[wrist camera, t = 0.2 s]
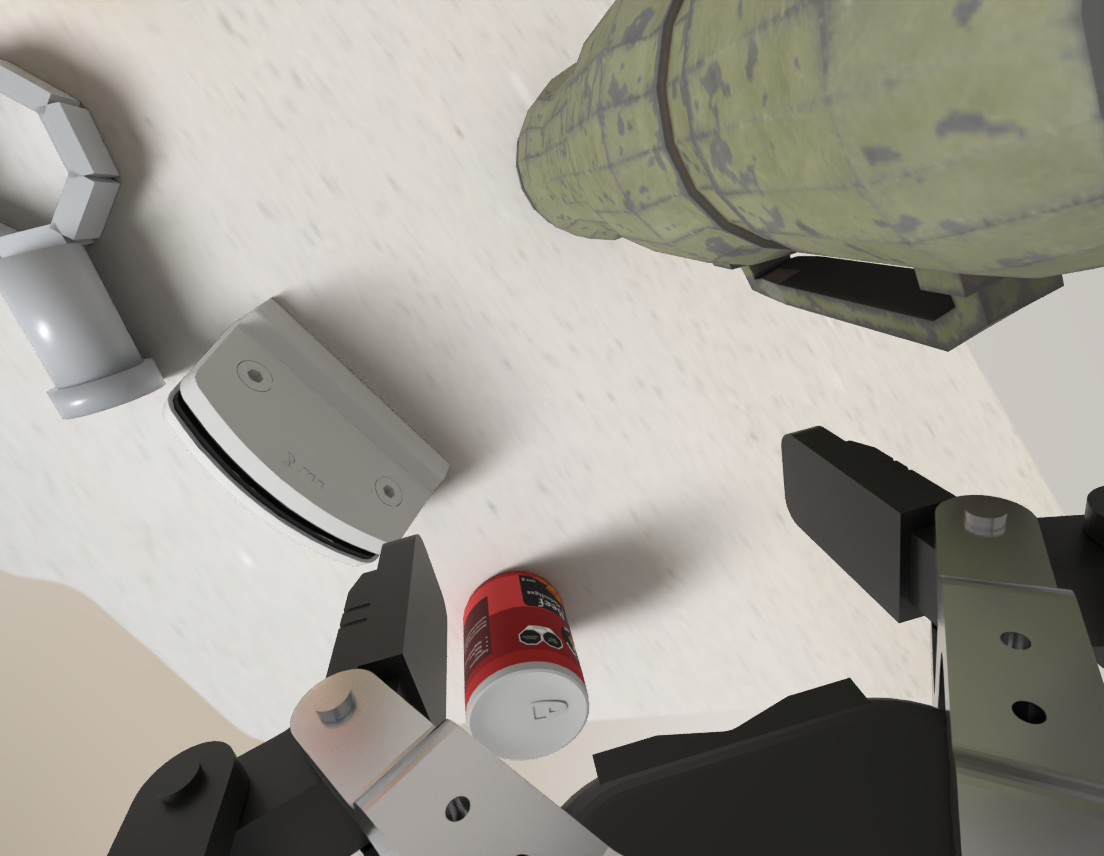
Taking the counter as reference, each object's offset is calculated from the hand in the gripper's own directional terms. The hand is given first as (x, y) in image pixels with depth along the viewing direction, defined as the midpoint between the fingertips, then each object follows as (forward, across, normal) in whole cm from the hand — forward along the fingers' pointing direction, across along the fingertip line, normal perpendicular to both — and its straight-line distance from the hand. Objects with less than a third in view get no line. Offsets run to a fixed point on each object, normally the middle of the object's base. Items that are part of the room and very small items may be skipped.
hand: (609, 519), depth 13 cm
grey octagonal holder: (+29, +24, -9) cm, 39 cm away
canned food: (+29, +6, +24) cm, 38 cm away
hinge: (+29, +14, +5) cm, 33 cm away
